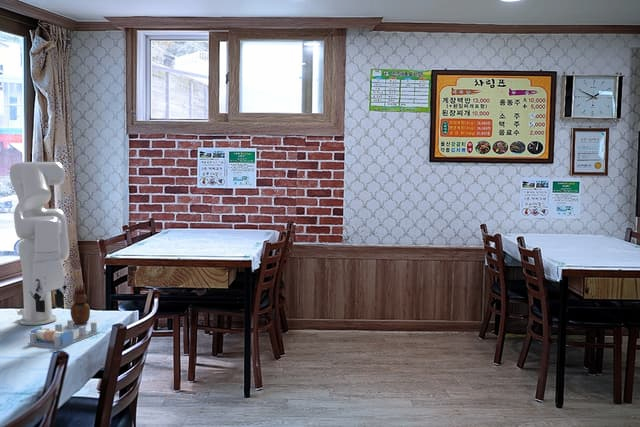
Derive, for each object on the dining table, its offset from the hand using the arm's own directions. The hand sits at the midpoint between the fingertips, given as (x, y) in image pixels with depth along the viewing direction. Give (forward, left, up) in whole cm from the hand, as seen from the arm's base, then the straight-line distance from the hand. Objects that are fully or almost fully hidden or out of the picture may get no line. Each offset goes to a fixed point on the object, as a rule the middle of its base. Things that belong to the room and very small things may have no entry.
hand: (50, 308), depth 215 cm
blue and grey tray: (0, +6, -12) cm, 13 cm away
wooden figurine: (-9, +25, -12) cm, 29 cm away
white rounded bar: (0, 0, -9) cm, 9 cm away
